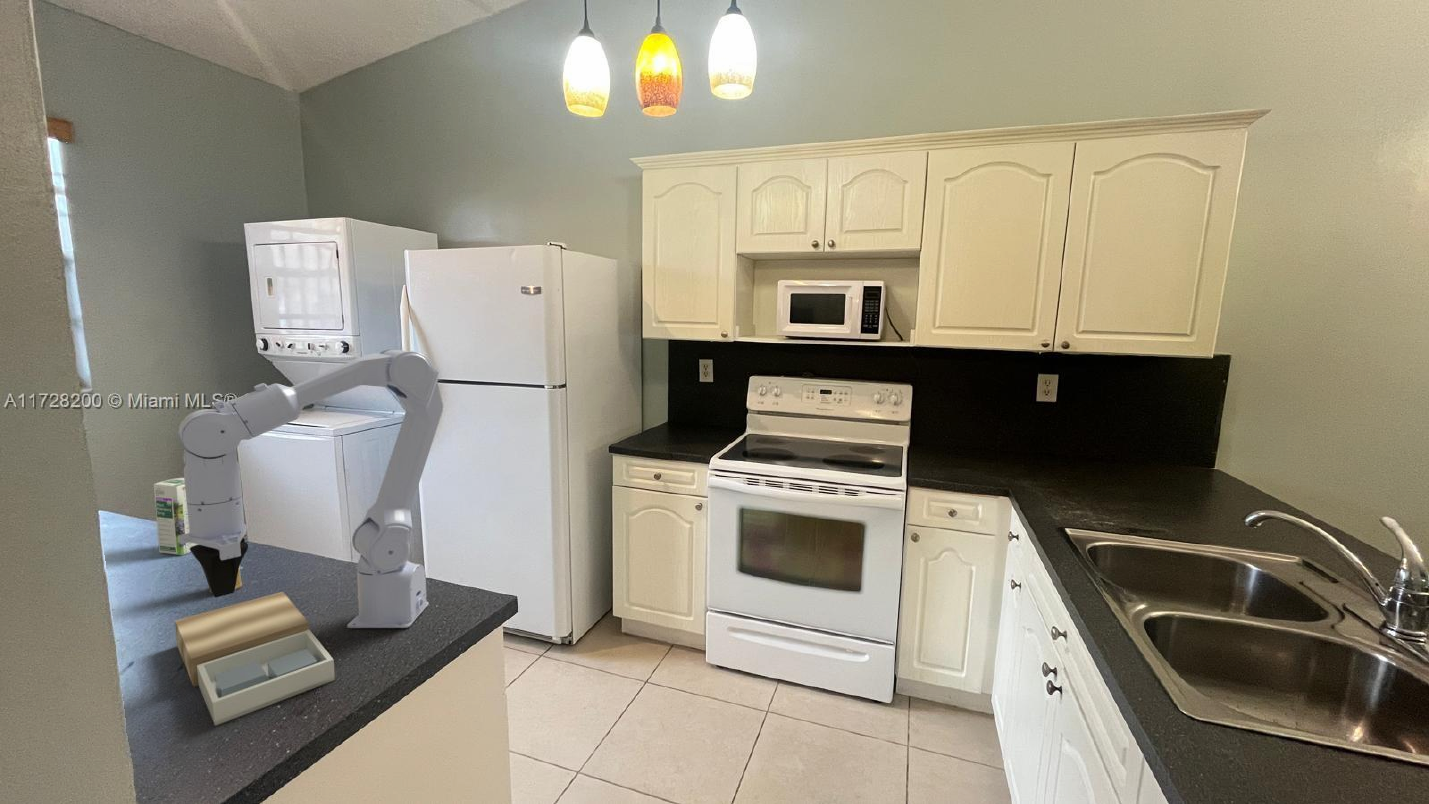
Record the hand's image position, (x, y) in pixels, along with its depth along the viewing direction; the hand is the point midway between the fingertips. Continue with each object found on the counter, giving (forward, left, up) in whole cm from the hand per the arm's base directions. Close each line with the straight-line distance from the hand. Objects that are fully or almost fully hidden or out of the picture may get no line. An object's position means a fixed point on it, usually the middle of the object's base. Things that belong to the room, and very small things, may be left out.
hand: (223, 593), depth 80 cm
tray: (-8, +5, -10) cm, 14 cm away
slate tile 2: (-11, +4, -8) cm, 14 cm away
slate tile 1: (-6, +7, -8) cm, 12 cm away
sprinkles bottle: (+17, -23, -11) cm, 31 cm away
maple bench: (+1, -4, -10) cm, 11 cm away
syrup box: (+38, -41, -11) cm, 57 cm away
